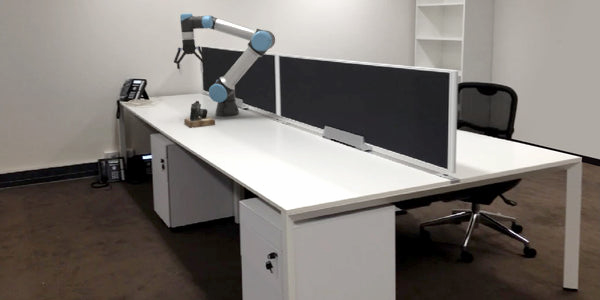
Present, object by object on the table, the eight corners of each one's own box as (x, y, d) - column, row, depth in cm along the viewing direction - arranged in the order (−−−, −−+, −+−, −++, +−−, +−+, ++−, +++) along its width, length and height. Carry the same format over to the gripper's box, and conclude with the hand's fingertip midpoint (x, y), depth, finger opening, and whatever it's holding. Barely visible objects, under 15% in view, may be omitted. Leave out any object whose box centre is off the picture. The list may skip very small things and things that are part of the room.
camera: (204, 123, 351) (206, 106, 349) (188, 120, 350) (191, 103, 348) (207, 118, 368) (209, 102, 366) (192, 115, 367) (194, 99, 365)
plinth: (208, 121, 368) (208, 116, 367) (215, 124, 355) (214, 119, 354) (184, 124, 362) (184, 118, 362) (190, 127, 349) (189, 122, 348)
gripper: (206, 37, 378) (209, 71, 382) (166, 40, 368) (170, 74, 373) (209, 37, 371) (212, 72, 376) (169, 40, 361) (172, 75, 366)
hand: (191, 73), depth 374 cm, fingers open, 13 cm apart
